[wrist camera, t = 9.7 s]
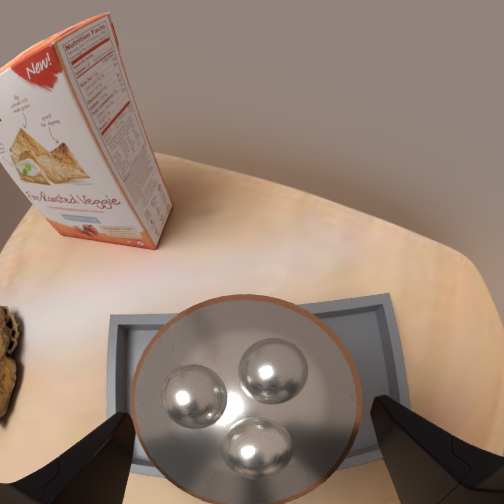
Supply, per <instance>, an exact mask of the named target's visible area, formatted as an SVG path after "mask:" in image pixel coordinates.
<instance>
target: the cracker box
mask: <svg viewBox="0 0 504 504" xmlns="http://www.w3.org/2000/svg"><path fill="white" fill-rule="evenodd" d="M0 162H1V164H2V165H3V167H4V168H5V169H6V171H7V172H8V173H9V175H10V176H11V177H12V179H13V180H14V181H15V183H16V184H17V185H18V186H19V188H20V189H21V190H22V191H23V193H24V194H25V195H26V196H27V197H28V198H29V200H30V201H31V202H32V203H33V205H34V206H35V207H36V208H37V209H38V211H39V212H40V213H41V214H42V215H43V216H44V217H45V218H46V220H47V221H48V222H49V223H50V224H51V225H52V226H53V227H54V228H55V229H56V230H57V231H58V233H59V234H60V235H66V236H72V237H78V238H85V239H91V240H97V241H103V242H110V243H116V244H123V245H129V246H135V247H141V248H148V249H156V247H157V245H158V242H159V240H160V237H161V234H162V232H163V229H164V227H165V224H166V222H167V219H168V216H169V214H170V212H171V209H172V207H173V203H172V200H171V197H170V195H169V192H168V190H167V187H166V184H165V182H164V179H163V177H162V174H161V172H160V169H159V166H158V163H157V161H156V158H155V155H154V153H153V150H152V147H151V145H150V142H149V139H148V136H147V133H146V130H145V127H144V125H143V122H142V119H141V116H140V113H139V110H138V107H137V104H136V101H135V98H134V95H133V92H132V88H131V85H130V82H129V79H128V76H127V72H126V69H125V66H124V62H123V59H122V56H121V52H120V48H119V45H118V42H117V37H116V34H115V30H114V27H113V23H112V18H111V15H110V13H109V12H106V13H103V14H100V15H97V16H95V17H92V18H90V19H87V20H85V21H83V22H80V23H78V24H76V25H74V26H72V27H69V28H67V29H65V30H63V31H61V32H59V33H57V34H55V35H53V36H51V37H49V38H47V39H45V40H42V41H40V42H39V43H37V44H35V45H33V46H32V47H30V48H29V49H27V50H25V51H24V52H22V53H21V54H20V55H18V56H17V57H15V58H14V59H13V60H11V61H10V62H9V63H7V64H6V65H5V66H3V67H2V68H0Z"/></svg>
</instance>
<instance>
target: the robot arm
mask: <svg viewBox="0 0 504 504" xmlns="http://www.w3.org/2000/svg"><path fill="white" fill-rule="evenodd" d="M370 416H371V419H372V423H373V427H374V430H375V434H376V438H377V442H378V445H379V448H380V451H381V454H382V456H383V459H384V461H385V464H386V466H387V469H388V471H389V474H390V476H391V479H392V481H393V484H394V487H395V489H396V492H397V494H398V497H399V500H400V502H401V504H504V457H502V456H499V455H496V454H493V453H491V452H488V451H485V450H483V449H480V448H478V447H475V446H473V445H471V444H468V443H466V442H465V441H463V440H461V439H459V438H457V437H455V436H454V435H451V434H450V433H448V432H447V431H445V430H443V429H441V428H440V427H438V426H436V425H435V424H433V423H431V422H430V421H428V420H426V419H425V418H423V417H421V416H420V415H418V414H416V413H415V412H413V411H411V410H410V409H408V408H407V407H405V406H403V405H402V404H400V403H399V402H397V401H395V400H394V399H392V398H391V397H389V396H388V395H385V394H383V395H379V396H376V397H375V398H374V400H373V403H372V407H371V410H370ZM135 436H136V431H135V428H134V424H133V420H132V418H131V416H130V414H129V413H128V412H123V411H118V412H116V413H115V414H114V415H112V416H111V417H110V418H109V419H107V420H106V421H105V422H104V423H102V424H101V425H100V426H98V427H97V428H96V429H95V430H93V431H92V432H91V433H89V434H88V435H87V436H85V437H84V438H83V439H81V440H80V441H79V442H77V443H76V444H75V445H73V446H72V447H71V448H69V449H68V450H67V451H65V452H64V453H63V454H61V455H60V456H59V457H57V458H56V459H54V460H53V461H52V462H50V463H49V464H47V465H46V466H44V467H42V468H41V469H39V470H37V471H36V472H34V473H32V474H30V475H28V476H26V477H24V478H22V479H20V480H18V481H16V482H13V483H6V484H5V483H0V504H122V503H123V498H124V494H125V489H126V485H127V481H128V477H129V472H130V468H131V464H132V459H133V451H134V443H135Z"/></svg>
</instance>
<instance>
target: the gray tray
mask: <svg viewBox="0 0 504 504" xmlns="http://www.w3.org/2000/svg"><path fill="white" fill-rule="evenodd" d="M297 306H299V307H301V308H303V309H305V310H307V311H309V312H310V313H312V314H313V315H315V316H316V317H318V318H319V319H320V320H322V321H323V322H324V323H325V324H326V325H328V326H329V327H330V328H331V329H332V330H333V331H334V332H335V334H336V335H337V336H338V337H339V338H340V339H341V341H342V342H343V344H344V345H345V346H346V348H347V349H348V351H349V353H350V355H351V357H352V359H353V361H354V363H355V366H356V368H357V371H358V374H359V378H360V383H361V388H362V402H363V406H362V416H361V422H360V426H359V430H358V434H357V436H356V439H355V441H354V444H353V446H352V448H351V450H350V451H349V453H348V455H347V456H346V458H345V460H344V461H343V462H342V463H341V465H340V466H339V467H338V469H337V470H341V469H345V468H349V467H353V466H357V465H361V464H364V463H368V462H371V461H374V460H377V459H381V458H383V456H382V454H381V451H380V448H379V445H378V442H377V438H376V434H375V430H374V427H373V423H372V419H371V416H370V410H371V407H372V403H373V400H374V398H375V397H376V396H379V395H383V394H385V395H388V396H389V397H391V398H392V399H394V400H395V401H397V402H399V403H400V404H402V405H403V406H405V407H407V408H408V409H410V401H409V392H408V385H407V378H406V371H405V365H404V359H403V353H402V348H401V343H400V338H399V333H398V328H397V323H396V319H395V315H394V310H393V306H392V302H391V298H390V294H389V293H384V294H378V295H371V296H365V297H358V298H350V299H343V300H335V301H327V302H319V303H310V304H301V305H297ZM178 314H180V313H177V314H138V315H110V324H109V337H108V352H107V419H109V418H110V417H111V416H112V415H114V414H115V413H116V412H118V411H123V412H128V413H129V414H130V416H131V418H132V413H131V387H132V382H133V376H134V373H135V370H136V367H137V364H138V362H139V360H140V358H141V355H142V353H143V351H144V350H145V348H146V347H147V345H148V344H149V342H150V341H151V339H152V338H153V337H154V336H155V335H156V333H157V332H158V331H159V330H160V329H161V328H162V327H163V326H164V325H165V324H166V323H168V322H169V321H170V320H171V319H172V318H174V317H175V316H177V315H178ZM130 472H131V473H136V474H142V475H147V476H153V477H160V478H165V477H164V476H163V475H162V474H161V472H160V471H159V470H158V469H157V468H156V467H155V466H154V465H153V463H152V462H151V461H150V459H149V458H148V456H147V455H146V453H145V451H144V449H143V448H142V446H141V444H140V442H139V439H138V437H137V434H136V436H135V443H134V451H133V459H132V464H131V468H130Z"/></svg>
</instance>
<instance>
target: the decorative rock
mask: <svg viewBox="0 0 504 504" xmlns="http://www.w3.org/2000/svg"><path fill="white" fill-rule="evenodd" d="M18 325H19V324H16V318H15V316H14V315H13V314H11V313H9V310H8V307H7V306H0V418H1V417H2V416H3V415H4V414H5V413H6V411H7V408H8V404H9V401H10V396H11V393H12V390H13V388H14V385H15V381H16V363H15V360H13V359H11V358H12V352H13V351H14V350H15V348H16V347H17V340H18V338H19V336H20V333H21V332H19V331H18V329H17V326H18ZM11 326H12V329H10V327H11ZM13 331H14V336H13V337H12V332H13ZM10 342H12V343H13V345H12V347H11V348H10V349H8V346H9V343H10ZM0 423H2V421H1V420H0Z"/></svg>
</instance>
